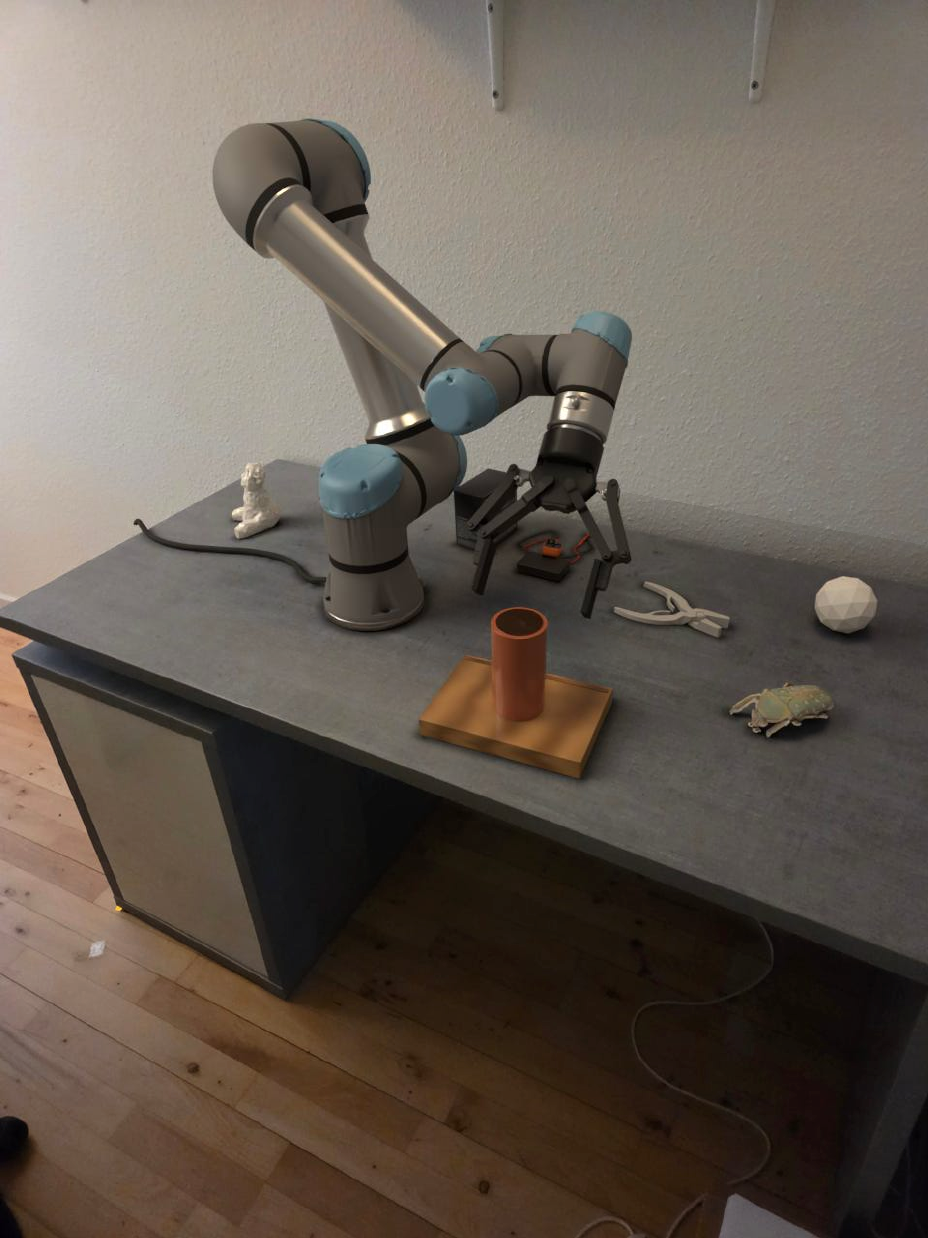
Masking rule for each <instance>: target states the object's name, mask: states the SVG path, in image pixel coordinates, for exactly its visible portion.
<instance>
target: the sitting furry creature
mask: <svg viewBox="0 0 928 1238" xmlns="http://www.w3.org/2000/svg"><path fill="white" fill-rule="evenodd" d="M240 476H241V479H240V486H241V487H243V489H244V490H243V496H242V501H243V506H239V507H237V508H235V509H233V510H232V512H231V518H232V520H233V521H236V522H240V523H238V524H237V525H236V526H235V527H234V528H233V531H234V535H235V537H236V539H238V540H239V539H246V538H249V537H252V536H254V535H256V534H258V533H261V532H264V531H265V530H268V529H271V528H273V527H275V525H276V524H277V523H278V521H280V517H281V510H280V507H279V505H278V504H277V502H275V501H274V500H273V499H272V498H271V497H270V496H269V494H268V492H267V491H268V490H267V488H265V487H264V484H265V479H266V471H265V469H264V468H263V466H262V464H261V462H260V461H257V462H255V463H254V462H252V461H250V462H248V463H247V464H245V471H244V472H243V473H241V474H240Z"/></svg>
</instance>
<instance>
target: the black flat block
mask: <svg viewBox="0 0 928 1238" xmlns="http://www.w3.org/2000/svg"><path fill="white" fill-rule="evenodd" d="M544 533H552V534H553V535H554V536H552V537H549V538H544V539H539V540H537V541H535V542H532V543H529V544H526V545H524V546H522V545H519V544H521V543H522V542H524V541H525V540H529V539H530V538H533V537H536V536H538V535H541V534H544ZM584 535H585V536H584V538H582V540H581V541H580V542H579V543H578V544H577V545H576V546H575V547H574V549H573V551H574V553H576V554H573V555H570V556H565V557H560V554H561V551H562V549H563V548H562V547H563V545H562V543H561V542H559V541H560V539H557V538H556V537H557V535H556V533H555V532H554V531H552V530H545V531H541V532H538V533H536V534H534V535H531V536H528V537H526V538H524V539H522V540H521V541H519V542H518V543H517V546H518V547H520V548H522V549H523V550H524V552H526V553H525V554H524V556H523V557H521V558H520V560H518V561H517V563H516V571H517V572H518V573H522V574H526V575H531V576H535V577H540V578H544V579H547V580H550V581H554V582H559V581H560V580H561V579H562V578H563V577H564V576H565V575H566V574H567V572H568V571H570V569H571V564H572V563H574V562H576V561H577V560H579V558H580V555H581V554H585V553H588V552H590V551H591V550H592V544H591V541H590V539H589V537H591V536H590V534H589V532H588V533H586V532H584ZM551 540H552V541H551ZM585 540H587V542H588V546H589V547H590V549H588V550H587V551H584V552H583V551H582V552H579V553H578V552H577V551H576V549H577V548H578V547H580V546H581V545H582V544H583V543H584V542H585ZM541 541H544V542H543V546H542V548H541V553H539V552H536V551H531V550H530V551H528V550H527V549H526V547H527V546H531V545H534V544H537V543H539V542H541ZM576 556H577V558H576V559H574V560H572V561H570V560H568V559H569V558H573V557H576Z"/></svg>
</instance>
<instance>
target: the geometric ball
mask: <svg viewBox="0 0 928 1238" xmlns="http://www.w3.org/2000/svg"><path fill="white" fill-rule="evenodd" d="M877 607H878V599H877V597H876V595H875V594H874V591H873V589H872V587H871V586H869V585H868V584H867V583H866V582H864V581H862V580H861V579H860V578H858V577H850V576H845V575H842V576H839V577H836V578H833V579H830V580H828V581H826V582H825V583H824V584H823V585H822V587H821V588H820V589H819V590H818V592H817V593H816V594H815V600H814V610H815V613H816V616H817V618H818V619H819V622H820V623H821V624H823V625H824V626H826V627H827V628H828V629H830V630H832V631H835V632H839V633H844V634H851V633H854V632H857V631H859V630H863V629H865V627H867V626H868V624H869V623H870V622H871V621H872V620H873V618H874V617H875V616H876V611H877Z"/></svg>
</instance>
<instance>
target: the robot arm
mask: <svg viewBox="0 0 928 1238" xmlns="http://www.w3.org/2000/svg"><path fill="white" fill-rule="evenodd" d="M367 157H368V156H367V155H366V153H365V150H364V148H363V147H362V145H361V143H360V142H359V140H358V139H357V138H356V137H355V135H354V134H353V133H352V132H351V131H350V130H348V128H346V127H345V126H343V125H341V124H339V123H338V122H335V121H332V120H325V119H319V118H309V117H308V118H302V119H299V120H289V121H277V122H276V121H275V122H256V123H253V122H252V123H248V124H245V125H244V124H243V125H241V126H239V127H238V128H236V129H234V130H232V132H230V133H229V134H228V135H227V136H225V138H224V139H223V140H222V142H221V143H220V145H219V147H218V149H217V150H216V152H215V155H214V159H213V165H212V171H211V172H212V186H213V187H212V188H213V192H214V195H215V200H216V202H217V204H218V207H219V209H220V211H221V213H222V215H223V216H224V218H225V220H226V221H227V223H228V225H229V226H230V228H232V229H233V231H234V232H235V233H236V234H237V236H238V237H240V239H242V240H243V242H245V243H246V244H247V245H248V247H250V248H251V249H252V250H253V251H254V252H255V253H257V255H259V256H260V257H262V258H263V259H276V260H277V261H278V262H279V263H280V264H282V266H284V267H285V268H286V269H287V270H288V271H289V272H290V273H291V274H292V275H294V276H295V277H296V278H297V279H298V280H299V281H300V282H302V283H303V284H304V285H305V286H306V287H307V288H308V290H310V291H312V292H313V293H314V294H315V295H316V296H317V297H318V298H319V299H321V300H322V302H323V304H324V307H325V310H326V312H327V315H328V318H329V320H330V323H331V326H332V328H333V331H334V333H335V336H336V339H337V341H338V344H339V347H340V349H341V352H342V354H343V357H344V360H345V362H346V365H347V367H348V371H349V373H350V375H351V378H352V381H353V384H354V386H355V389H356V391H357V394H358V396H359V400H360V402H361V404H362V407H363V409H364V412H365V415H366V417H367V420H368V426H367V428H366V431H365V434H364V435H363V437H364V440H365V443H364V444H357V445H356V446H355V447H345V448H344V449H341V450H340V451H337V452H335V453H334V454H333V455H331V456H330V457H328V459H326V460H325V461H324V463H323V464H322V466H321V467H320V470H319V473H318V499H319V500H318V501H319V504H320V509H321V516H322V521H323V529H324V534H325V541H326V547H327V553H328V561H329V565H328V570H327V575H326V576H311V575H309V574H307V573H306V572H305V571H304V569H303V568H302V567H301V565H300V564H299V563H297V562H296V561H295V560H294V559H292V558H289V557H288V556H285V555H282V554H279V553H277V552H272V551H267V550H263V549H256V548H248V547H236V546H235V547H234V546H233V547H232V546H218V545H205V544H190V543H183V542H177V541H173V540H169V539H165V538H162V537H159V536H157V535H155V534H153V533H152V532H151V531H150V530H149V529H148V527H146V525H145V523H144V521H143V520H142V519H140V518H136V519H134V521H133V525H134V526H139V528H140V530H141V532H142V533H143V534H144V535H145V536H146V537H147V538H149V539H150V540H152V541H155V542H156V543H159V544H162V545H163V546H168V547H172V548H176V549H177V548H178V549H182V550H188V551H189V550H190V551H200V552H201V551H203V552H217V553H218V552H219V553H230V554H231V553H232V554H233V553H234V554H246V555H247V554H248V555H253V556H260V557H264V558H265V557H266V558H271V559H275V560H278V561H281V562H283V563H286V564H288V565H290V566H291V567H292V568H294V570H295V571H296V572H297V573H298V575H299V576H300V577H301V578H302V579H304V580H305V581H307V582H309V583H312V584H318V583H319V584H320V583H321V584H323V583H324V589H323V594H322V605H323V610H324V614H325V616H326V618H328V620H329V621H331V623H333V624H335V625H337V626H339V627H341V628H344V629H346V630H352V631H359V632H360V631H361V632H373V631H376V632H377V631H383V630H387V629H392V628H395V627H398V626H400V625H403V624H406V623H407V622H409V621H411V620H412V619H414V618H415V617H416V616H417V615H419V613H420V612H421V611H422V609H423V607H424V604H425V591H424V587H426V582H425V580H423V579H421V578H419V575H418V572H417V570H416V567H415V566H414V563H413V561H412V559H411V557H410V554H409V540H408V526H409V525H410V524H412V523H413V522H414V521H417V520H418V519H419V518H420V517H421V516H423V515H424V514H426V513H427V512H429V511H430V510H431V509H433V508H434V507H436V506H437V505H439V504H441V503H443V502H444V501H447V500H448V498H450V496H452V494H454V491H455V490H456V489H457V488H458V487H459V486H461V485H462V484H463V481H464V479H465V476H466V474H467V469H468V454H467V449H466V445H465V444H464V441H463V439H462V437H461V436H465V435H468V434H470V433H472V432H474V431H477V430H479V429H480V430H481V428H484V427H487V425H489V424H490V423H491V422H493V420H495V419H496V418H497V417H499V416H500V415H502V414H503V413H505V412H506V411H509V410H510V409H512V408H513V407H515V406H517V405H518V404H520V403H521V402H523V401H524V400H526V399H527V398H529V397H553V398H554V399H553V401H552V405H551V409H550V413H549V416H548V419H547V423H546V431H545V432H544V434H543V437H542V441H541V444H540V448H539V452H538V455H537V460H536V463H535V466H534V467H533V468H532V469H531V470H527V469H524V468H520V467H519V466H518V464H516V463H511V464H509V466H508V467H507V470H506V472H507V473H506V475H505V478H504V480H503V481H502V482H501V483H500V485H499V486H498V487H497V488H496V489H495V490H494V492H493V493H492V494H491V495H490V496H489V497H488V499H487V500H486V501H485V502H484V503H483V505H482V506H481V507H480V508H479V509H478V510H477V512H476V513H475V514H474V515H473V516H472V517H471V519H470V520H469V521H468V522H467V524H466V527H467V528H468V530H469V531H470V532H471V533H472V534H473V535H475V536H477V537H478V540H477V544H476V547H475V550H473V555H472V559H471V560H472V564H473V565H475V566H476V570H475V573H474V576H473V580H472V583H471V588H470V590H471V591H473V592H474V593H475V594H476V595H478V596H483V597H484V594H485V590H486V587H487V583H488V580H489V576H490V573H491V569H492V565H493V562H494V559H495V555H496V552H497V548H498V544H497V545H496V544H495V543H494V542H493V540H495V539H496V538H497V537H499V536H500V535H501V534H503V533H504V532H505V531H507V530H508V529H509V528H511V527H512V526H513V525H515V524H516V523H517V524H518V523H519V522H520V521H522V520H523V519H524V518H525V517H527V516H528V515H529V514H531V513H534V512H536V511H537V510H539V509H540V508H542V509H544V511H548V512H560V513H561V514H564V515H570V514H572V513H574V512H576V511H577V513H578V515H579V517H580V519H581V520H582V522H583V524H584V527H585V528H586V530H587V532H588V533H589V534H590V536H589V537H591V539H592V541H593V543H594V546H595V547H596V549H597V551H598V553H599V555H600V556H601V559H599V558H594V559H593V562H592V566H591V571H590V574H589V578H588V581H587V584H586V589H585V593H584V597H583V600H582V601H583V602H582V603H581V608H580V614H581V615H582V617H583V618H584V619H588V620H590V619H592V615H593V610H594V607H595V603H596V599H597V597H598V596H597V595H598V591H599V592H604V593H605V592H606V591H607V589H608V588H609V584H610V581H611V576H612V573H613V569H614V567H615V566H617V565H620V564H624V565H628V564H630V563H631V562H632V559H633V558H632V554H631V550H630V545H629V542H628V537H627V535H626V530H625V525H624V521H623V517H622V513H621V509H620V498H621V497H620V496H621V488H620V485H619V482H618V480H617V479H616V478H611V479H609V480H608V481H597V477H598V473H599V470H600V466H601V463H602V460H603V454H604V452H605V451H604V450H605V446H604V445H605V444H606V442H607V441H608V437H609V432H610V429H611V424H612V421H613V417H614V413H615V410H616V404H617V400H618V397H619V394H620V390H621V386H622V383H623V380H624V376H625V373H626V369H627V368H628V365H629V357H630V351H631V346H632V341H633V332H632V329H631V328H630V326H629V324H628V323H627V322H626V321H625V320H624V319H622V318H621V317H620V316H618V315H615V314H613V313H610V312H607V311H601V310H591V311H588V312H587V313H586V314H580V315H579V316H578V317H577V319H576V320H575V322H574V325H573V326H572V329H571V331H570V333H560V334H514V333H504V334H502V335H501V334H500V335H490V336H487V337H485V338H484V339H482V341H481V342H480V343H479V347H478V348H476V350H475V349H474V348H472V347H471V346H470V345H469V344H468V343H466V342H465V341H464V340H463V339H461V337H459V336H458V335H457V334H456V333H455V332H454V331H453V330H452V329H450V327H448V326H447V325H446V324H445V323H444V322H443V321H442V320H440V318H438V317H437V316H436V315H435V314H434V313H433V312H432V311H431V310H430V309H428V308H427V307H426V306H425V305H424V304H423V303H422V302H420V301H419V300H418V298H416V297H415V296H414V295H413V294H411V292H409V290H407V289H406V288H405V287H404V286H403V285H401V284H400V282H398V280H396V279H395V278H394V277H393V276H392V275H390V273H388V272H387V271H386V270H385V269H384V268H383V267H382V266H380V264H378V263H377V262H376V261H375V260H374V259H373V256H372V254H371V250H370V248H369V243H368V242H367V238H366V236H365V232H366V228H367V226H368V223H369V221H370V218H371V217H370V214H369V211H368V207H367V205H366V201H367V200H368V197H369V195H370V189H369V187H370V185H371V184H372V174H371V167H370V163H369V160H368V158H367ZM419 389H421V390H422V391H423V392H424V395H423V396H424V398H422V395H421V393H420V390H419ZM423 399H424V401H423ZM527 482H529V484H530V487H531V488H529V489H528V490H526V492H524V493H523V494H522V495H521V497H520V498H519V499H517V501H516V502H515V503H514V504H512V505H511V506H510V507H509V508H507V509H506V510H505V511H503V512H502V513H501V514H499V515H498V516H497V517H495V516H496V515H497V513H498V512H499V511H500V510H501V509H502V508H503V506H504V505H505V504H506V503H507V502H508V501H509V499H510V498H511V497H512V496H513V495H514V493H515V492H516V490H517V491H518V488H521V487H523V486H524V484H525V483H527ZM597 493H599V494H600V497H601V500H602V501H604V502H605V503H606V506H607V511H608V515H609V520H610V524H611V528H612V533H613V537H614V541H615V544H616V549H617V550H611V549H610V547H609V545H608V542H607V541H606V539H605V538H604V536H603V534H602V531H601V529H600V528H599V526H598V524H597V522H596V520H595V518H594V517H593V514H592V513H591V511H590V509H589V507H588V506H587V502H588V501H589V500H590V499H592V497H594V496H595V495H596V494H597ZM494 517H495V518H494ZM493 518H494V519H493ZM492 519H493V520H492Z"/></svg>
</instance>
